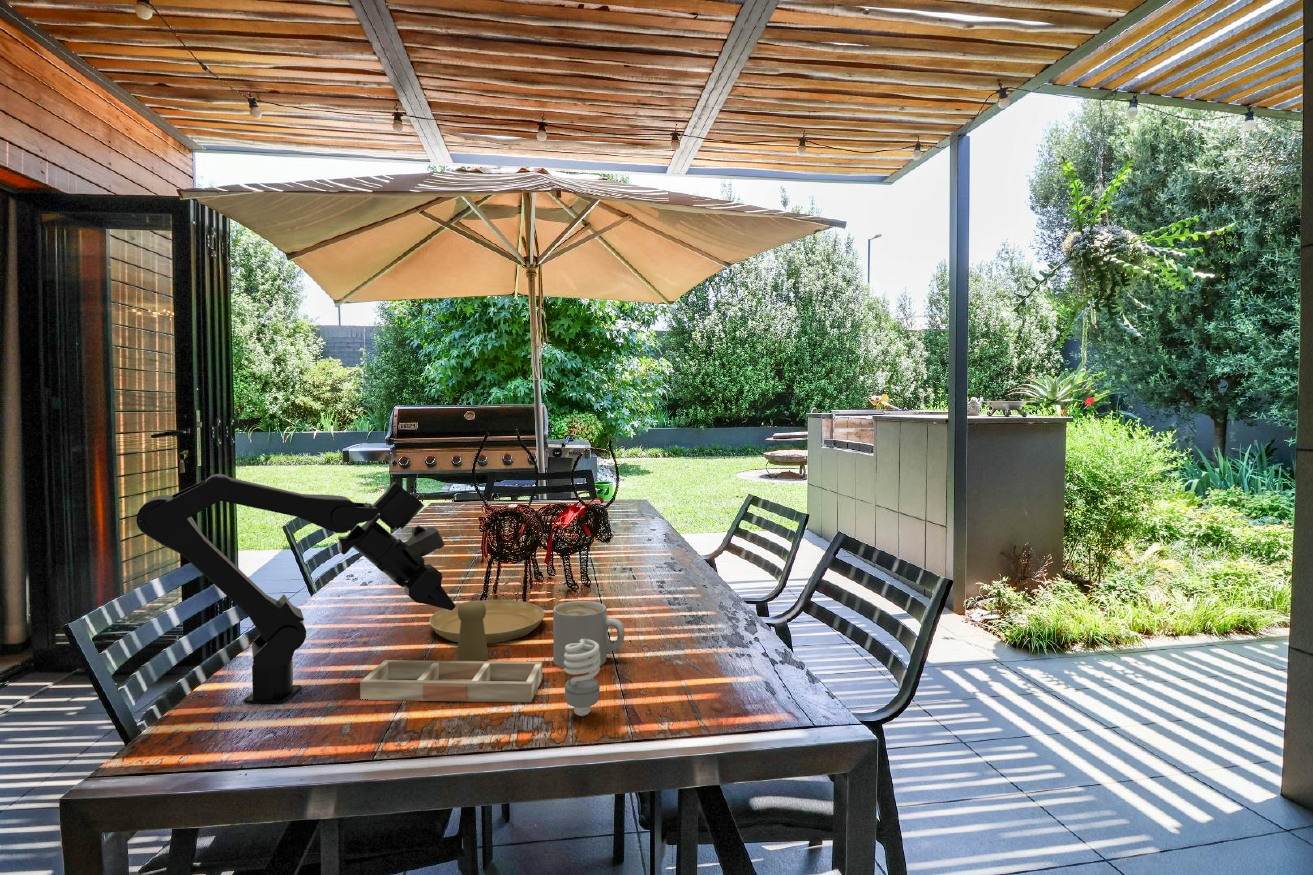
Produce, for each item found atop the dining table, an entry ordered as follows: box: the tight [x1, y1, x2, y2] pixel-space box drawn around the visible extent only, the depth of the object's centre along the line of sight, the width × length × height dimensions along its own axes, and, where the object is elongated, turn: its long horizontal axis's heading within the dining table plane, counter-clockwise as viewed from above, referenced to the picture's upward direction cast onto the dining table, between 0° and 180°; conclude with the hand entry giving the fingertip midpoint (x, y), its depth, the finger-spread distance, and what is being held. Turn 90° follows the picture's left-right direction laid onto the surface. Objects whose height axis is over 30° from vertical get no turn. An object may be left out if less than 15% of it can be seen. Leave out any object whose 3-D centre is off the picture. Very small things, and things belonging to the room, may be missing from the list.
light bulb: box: [563, 639, 601, 718], centre depth 111 cm, size 6×6×12 cm
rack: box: [359, 659, 543, 703], centre depth 122 cm, size 10×28×3 cm, turn 89°
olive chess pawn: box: [455, 600, 489, 661], centre depth 136 cm, size 6×6×11 cm
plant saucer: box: [428, 599, 545, 644], centre depth 155 cm, size 24×24×3 cm
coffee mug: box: [552, 600, 625, 669], centre depth 135 cm, size 13×10×10 cm
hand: (446, 602), depth 133 cm, fingers open, 9 cm apart
